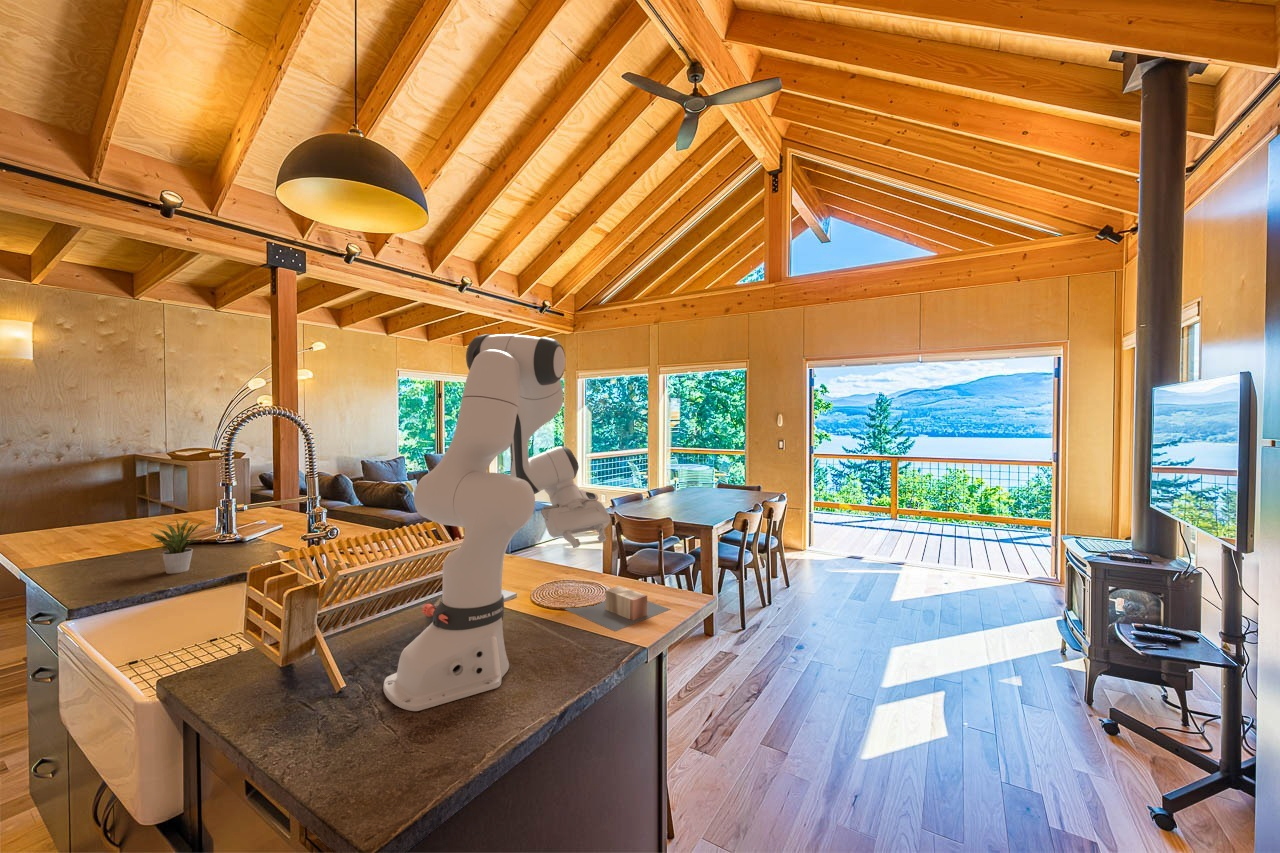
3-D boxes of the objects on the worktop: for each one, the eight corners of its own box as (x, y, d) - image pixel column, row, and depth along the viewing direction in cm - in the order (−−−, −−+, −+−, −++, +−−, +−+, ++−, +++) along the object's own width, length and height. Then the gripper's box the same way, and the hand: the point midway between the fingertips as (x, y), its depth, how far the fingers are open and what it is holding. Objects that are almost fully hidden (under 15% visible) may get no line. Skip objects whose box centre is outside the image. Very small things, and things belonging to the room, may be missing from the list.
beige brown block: (605, 609, 132) (632, 620, 125) (605, 590, 131) (633, 600, 125) (619, 604, 135) (646, 615, 128) (619, 585, 135) (647, 595, 128)
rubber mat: (614, 633, 118) (614, 631, 118) (564, 611, 131) (564, 609, 131) (670, 611, 133) (670, 609, 133) (619, 593, 146) (619, 591, 146)
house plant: (203, 561, 169) (204, 512, 169) (218, 568, 162) (218, 517, 161) (144, 571, 158) (145, 518, 157) (157, 579, 150) (158, 524, 150)
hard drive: (495, 587, 146) (460, 600, 135) (517, 592, 141) (482, 606, 131) (495, 593, 146) (460, 606, 135) (517, 598, 141) (482, 613, 131)
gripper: (543, 500, 137) (565, 543, 130) (600, 493, 152) (623, 531, 145) (533, 514, 140) (554, 556, 133) (590, 506, 155) (612, 544, 148)
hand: (590, 543), depth 139 cm, fingers open, 8 cm apart
